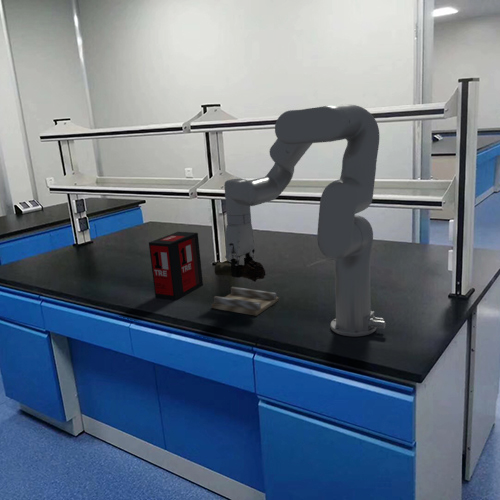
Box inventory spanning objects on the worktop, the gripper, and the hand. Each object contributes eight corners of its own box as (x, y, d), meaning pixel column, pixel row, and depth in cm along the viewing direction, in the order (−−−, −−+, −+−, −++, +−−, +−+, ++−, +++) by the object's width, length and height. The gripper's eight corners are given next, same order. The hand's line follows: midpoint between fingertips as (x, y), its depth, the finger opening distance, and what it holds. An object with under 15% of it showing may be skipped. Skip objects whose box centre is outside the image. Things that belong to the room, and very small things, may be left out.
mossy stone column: (214, 277, 165) (213, 260, 164) (226, 271, 171) (225, 255, 169) (260, 284, 155) (258, 266, 154) (271, 277, 161) (270, 260, 159)
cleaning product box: (183, 283, 191) (177, 231, 186) (203, 285, 187) (197, 232, 182) (155, 297, 178) (148, 242, 173) (175, 300, 173) (169, 244, 168)
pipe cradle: (278, 300, 166) (278, 291, 165) (256, 315, 155) (255, 305, 154) (235, 294, 175) (235, 285, 174) (211, 308, 164) (211, 298, 163)
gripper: (244, 213, 167) (247, 264, 171) (212, 224, 153) (217, 280, 157) (263, 214, 163) (266, 267, 167) (233, 225, 149) (237, 283, 153)
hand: (242, 273), depth 162 cm, fingers closed on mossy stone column, 6 cm apart
